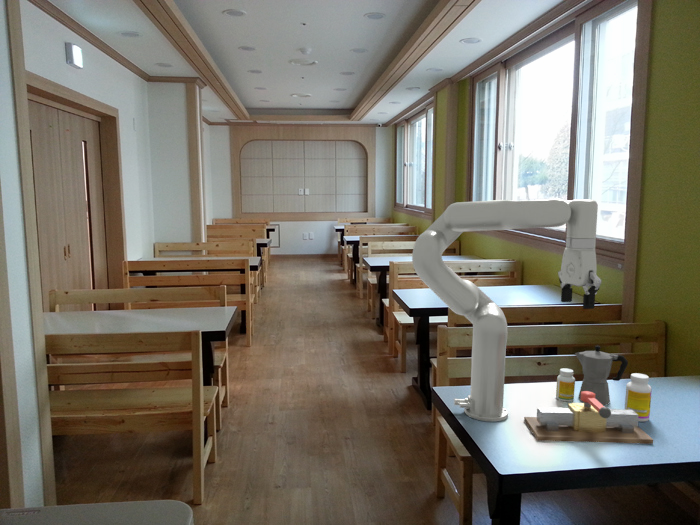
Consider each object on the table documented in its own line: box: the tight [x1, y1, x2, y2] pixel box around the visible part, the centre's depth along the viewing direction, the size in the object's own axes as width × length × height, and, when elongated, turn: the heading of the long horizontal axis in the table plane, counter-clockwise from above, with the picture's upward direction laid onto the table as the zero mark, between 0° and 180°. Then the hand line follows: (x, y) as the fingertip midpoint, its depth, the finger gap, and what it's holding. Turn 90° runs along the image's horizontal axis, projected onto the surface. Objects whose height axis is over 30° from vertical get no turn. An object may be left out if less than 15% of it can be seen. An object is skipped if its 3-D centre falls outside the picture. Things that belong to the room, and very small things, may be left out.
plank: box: [523, 416, 654, 445], centre depth 152 cm, size 30×13×1 cm, turn 88°
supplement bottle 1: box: [555, 367, 576, 403], centre depth 176 cm, size 5×5×10 cm
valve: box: [536, 402, 639, 434], centre depth 152 cm, size 26×6×6 cm, turn 88°
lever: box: [580, 391, 611, 418], centre depth 146 cm, size 14×4×4 cm, turn 178°
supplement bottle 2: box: [623, 372, 652, 423], centre depth 162 cm, size 7×7×13 cm
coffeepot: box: [574, 345, 629, 406], centre depth 174 cm, size 15×9×18 cm, turn 68°
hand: (577, 305), depth 155 cm, fingers open, 9 cm apart
